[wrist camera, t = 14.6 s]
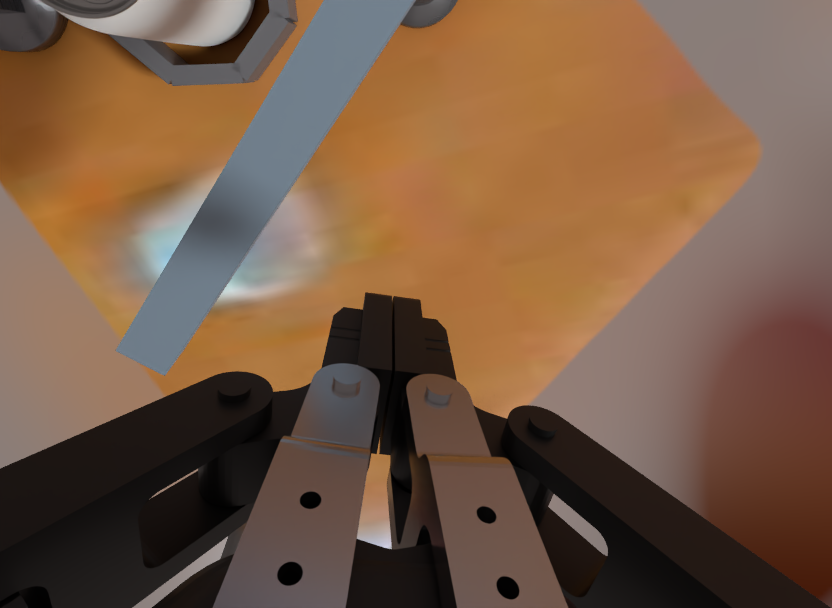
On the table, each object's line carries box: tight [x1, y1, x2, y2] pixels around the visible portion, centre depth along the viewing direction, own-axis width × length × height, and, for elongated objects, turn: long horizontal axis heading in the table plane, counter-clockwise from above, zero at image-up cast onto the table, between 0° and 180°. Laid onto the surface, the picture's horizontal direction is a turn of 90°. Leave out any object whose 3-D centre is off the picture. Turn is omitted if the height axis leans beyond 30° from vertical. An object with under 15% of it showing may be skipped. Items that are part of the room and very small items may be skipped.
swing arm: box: [116, 0, 416, 376], centre depth 16 cm, size 21×4×2 cm, turn 142°
